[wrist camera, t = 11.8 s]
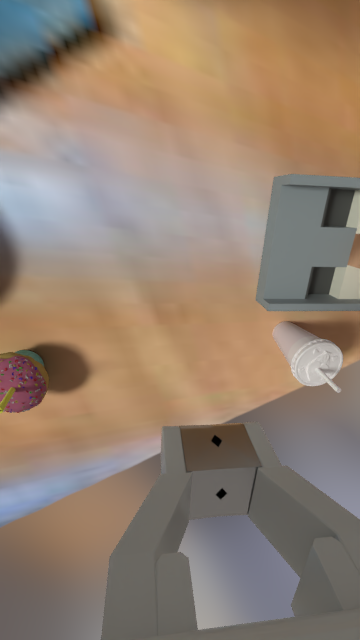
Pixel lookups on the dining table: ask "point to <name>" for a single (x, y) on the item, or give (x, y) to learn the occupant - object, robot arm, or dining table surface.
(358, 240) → the terracotta block
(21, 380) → the cupcake
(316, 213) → the board
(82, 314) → the dining table surface
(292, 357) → the smoothie
